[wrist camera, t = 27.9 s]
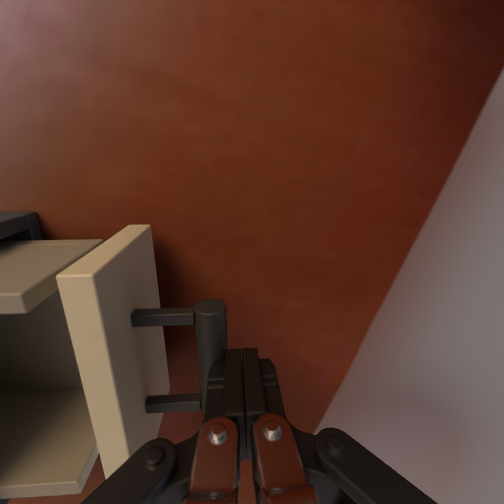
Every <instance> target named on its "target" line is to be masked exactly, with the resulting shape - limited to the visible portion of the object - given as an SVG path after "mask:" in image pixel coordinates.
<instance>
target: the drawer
mask: <svg viewBox="0 0 504 504" xmlns="http://www.w3.org/2000/svg"><path fill="white" fill-rule="evenodd" d="M194 324H195V326H196V339H197V353H198V367H199V380H200V393H192V394H172V395H168V394H169V390H170V384H169V375H168V367H167V358H166V350H165V341H164V333H163V326H179V325H194ZM225 349H227V319H226V304H225V303H224V302H223V301H222V300H219V299H205V300H202V301H200V302H198V303H197V304H196V305H195V307H182V308H160V299H159V291H158V282H157V274H156V266H155V257H154V249H153V240H152V232H151V225H128V226H127V227H125V228H124V229H123V230H121V231H120V232H118V233H117V234H115V235H114V236H112V237H111V238H110V239H108V240H107V241H105V242H104V241H103V240H102V239H89V240H23V241H0V499H8V498H23V497H37V496H52V495H66V494H80V493H81V492H82V490H83V488H84V485H85V483H86V481H87V479H88V476H89V474H90V472H91V470H92V467H93V465H94V463H95V461H96V458H97V456H98V454H99V453H100V457H101V461H102V465H103V470H104V474H105V478H106V479H107V478H108V477H109V476H110V475H111V474H113V473H114V472H115V471H116V470H117V469H118V468H119V467H120V466H121V465H122V464H123V463H124V462H125V461H126V460H127V459H128V458H129V457H131V456H132V455H133V454H134V453H135V452H136V451H137V450H138V449H139V448H140V447H141V446H142V445H144V444H145V443H147V442H148V441H150V440H153V439H157V435H158V431H159V427H160V424H161V420H162V416H163V413H167V412H186V411H200V410H201V407H202V413H203V415H204V413H205V402H206V392H207V382H208V371H209V368H210V367H211V365H212V364H213V362H214V361H225Z"/></svg>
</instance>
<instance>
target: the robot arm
mask: <svg viewBox="0 0 504 504" xmlns="http://www.w3.org/2000/svg"><path fill="white" fill-rule="evenodd" d="M244 428H245V446H246V460H252V469H253V489H254V496H255V504H437V503H436V502H435V501H434V500H432V499H431V498H430V497H428V496H427V495H425V494H424V493H423V492H422V491H421V490H419V489H418V488H417V487H415V486H414V485H413V484H411V483H410V482H409V481H408V480H406V479H405V478H404V477H402V476H401V475H400V474H398V473H397V472H396V471H395V470H393V469H392V468H391V467H389V466H388V465H386V464H385V463H384V462H383V461H382V460H380V459H379V458H377V457H376V456H375V455H374V454H372V453H371V452H370V451H369V450H367V449H366V448H365V447H363V446H362V445H361V444H359V443H358V442H357V441H355V440H354V439H353V438H352V437H350V436H349V435H347V434H346V433H345V432H343V431H341V430H339V429H336V428H325V429H323V430H321V431H320V432H319V433H318V434H317V435H313V434H309V433H305V432H302V431H300V430H298V429H296V428H295V427H293V426H292V425H291V424H290V423H289V421H288V420H287V418H286V416H285V412H284V407H283V402H282V398H281V393H280V388H279V384H278V379H277V374H276V369H275V366H274V365H273V363H272V362H271V361H270V360H269V359H259V358H258V350H257V348H242V365H241V349H225V361H214V362H213V364H212V365H211V367H210V368H209V371H208V382H207V392H206V402H205V413H204V421H203V424H202V426H201V428H200V430H199V431H198V432H197V433H196V434H195V435H194V436H193V437H191V438H190V439H188V440H185V441H183V442H180V443H178V444H175V445H174V444H173V443H172V442H171V441H169V440H167V439H164V438H157V439H153V440H150V441H148V442H147V443H145V444H144V445H142V446H141V447H140V448H139V449H138V450H137V451H136V452H135V453H134V454H133V455H132V456H131V457H129V458H128V459H127V460H126V461H125V462H124V463H123V464H122V465H121V466H120V467H119V468H118V469H117V470H116V471H115V472H114V473H113V474H111V475H110V476H109V477H108V478H107V479H106V480H105V481H104V482H103V483H102V484H101V485H100V486H99V487H98V488H97V489H96V490H94V491H93V492H92V493H91V494H90V495H89V496H88V497H87V498H86V499H85V500H84V501H83V502H82V503H81V504H238V483H239V480H240V461H244V460H245V450H244Z"/></svg>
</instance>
